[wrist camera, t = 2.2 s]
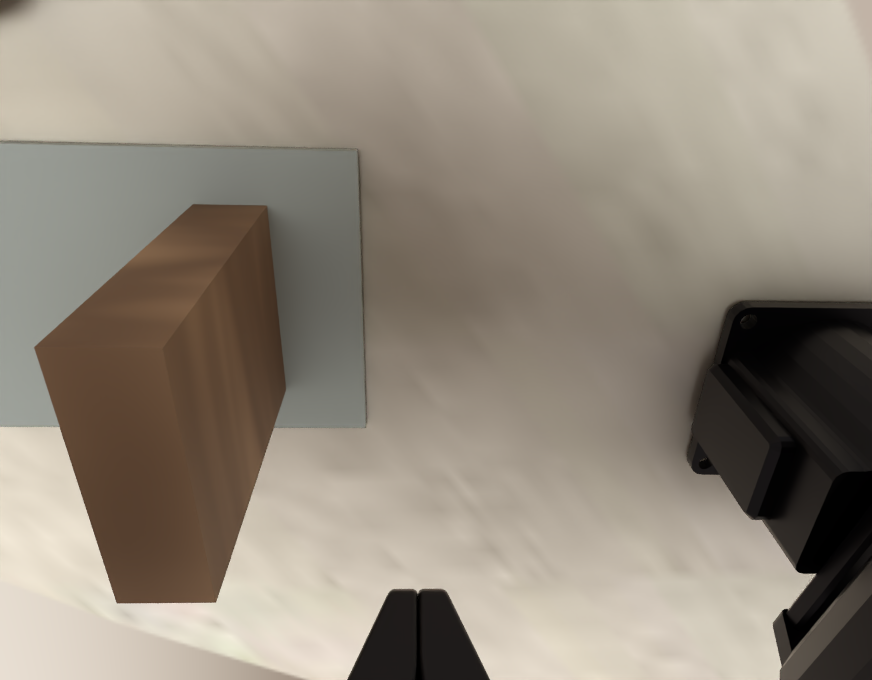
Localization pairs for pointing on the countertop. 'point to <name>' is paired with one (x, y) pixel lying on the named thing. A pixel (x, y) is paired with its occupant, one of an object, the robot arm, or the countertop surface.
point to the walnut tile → (172, 400)
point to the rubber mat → (150, 215)
